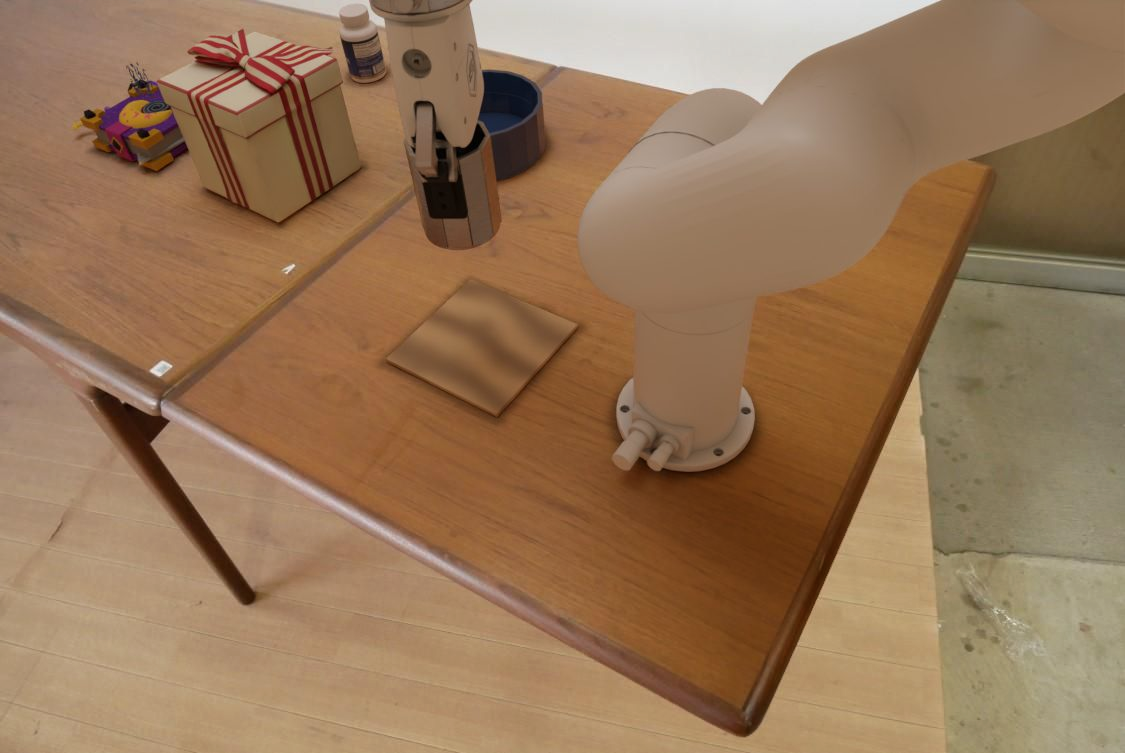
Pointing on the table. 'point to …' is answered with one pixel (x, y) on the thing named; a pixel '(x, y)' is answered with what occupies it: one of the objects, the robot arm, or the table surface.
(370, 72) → the pill bottle
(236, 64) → the gift box
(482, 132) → the small pot
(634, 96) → the table surface
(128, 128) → the lego model
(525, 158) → the dark blue round tub
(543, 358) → the plate
